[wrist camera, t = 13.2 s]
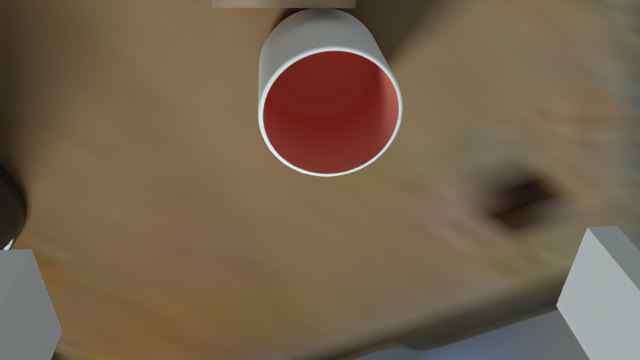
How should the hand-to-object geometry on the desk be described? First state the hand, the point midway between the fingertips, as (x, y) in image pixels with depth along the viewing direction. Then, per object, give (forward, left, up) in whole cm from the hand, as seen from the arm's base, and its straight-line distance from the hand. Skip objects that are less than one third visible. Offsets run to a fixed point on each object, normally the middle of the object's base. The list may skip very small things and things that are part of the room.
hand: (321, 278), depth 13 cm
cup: (+3, -7, -33) cm, 34 cm away
